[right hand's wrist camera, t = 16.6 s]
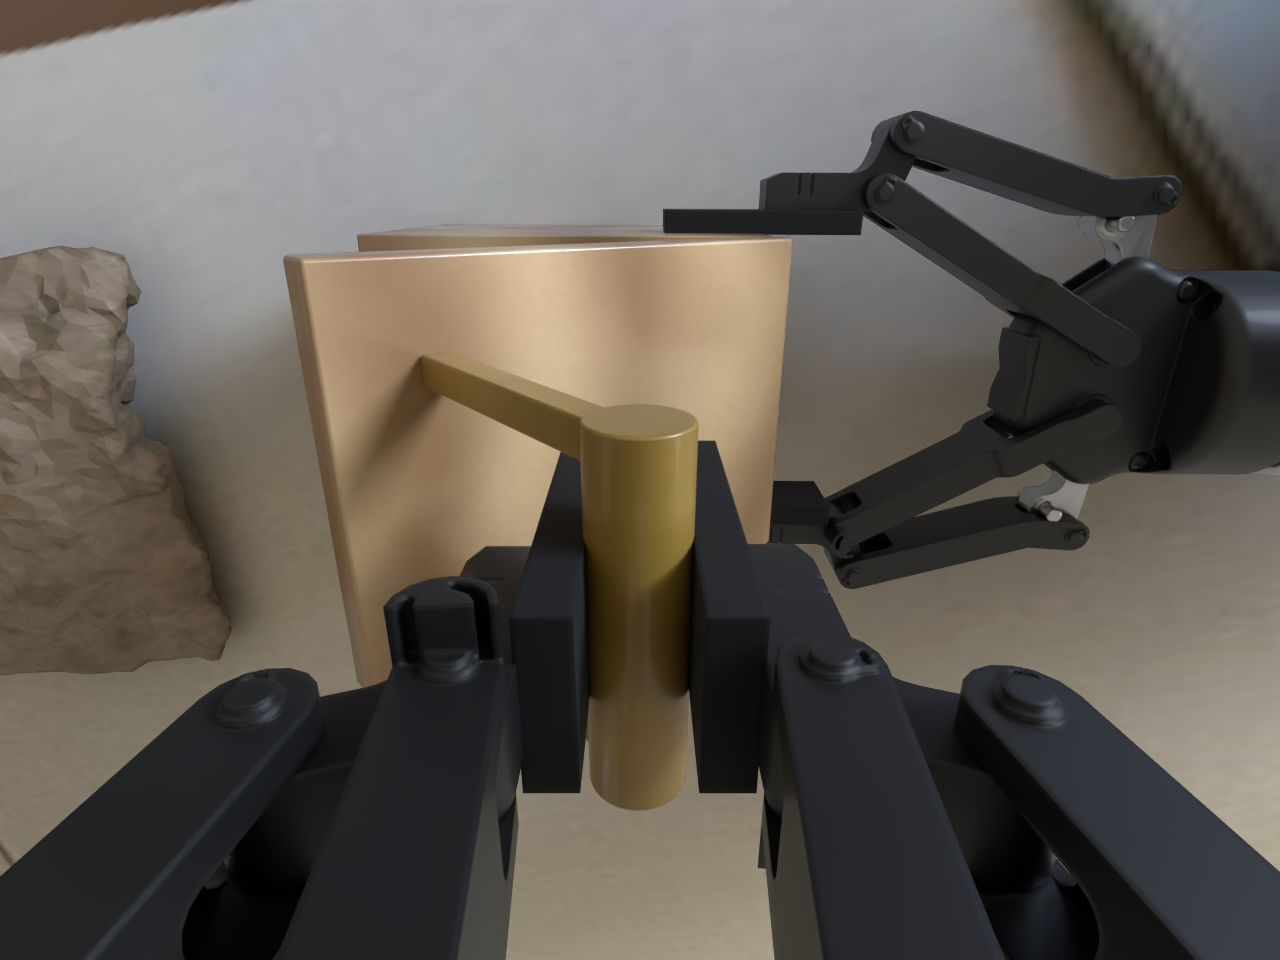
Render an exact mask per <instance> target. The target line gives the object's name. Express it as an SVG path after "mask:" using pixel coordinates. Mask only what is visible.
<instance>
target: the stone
mask: <svg viewBox="0 0 1280 960" xmlns="http://www.w3.org/2000/svg"><path fill="white" fill-rule="evenodd" d="M140 293H141V291H140V289H139V287H138V286H137V284H136V282H135V280H134V278H133V276H132V275H131V272H130V268H129V265H128V262H127V261H126V259H125V257H124V255H120V254H116V253H112V252H109V251H105V250H101V249H97V248H82V249H76V248H70V247H65V246H57V247H50V248H45V249H41V250H36V251H32V252H27V253H22V254H18V255H13V256H9V257H4V258H1V259H0V675H9V674H18V673H33V672H59V671H63V672H72V673H81V674H96V673H109V672H116V671H134V670H136V669H138V668H139V667H141V666H142V665H144V664H145V663H147V662H148V661H157V660H172V659H177V658H186V657H202V658H204V659H207V660H211V661H214V660H220V658H221V655H222V652H223V650H224V647H225V643H226V640H227V639H228V638H229V635H230V632H231V630H232V628H231V626H230V621H229V617H228V615H227V610H226V609H225V608H224V607H223V605H222V603H221V601H220V599H219V598H218V596H217V594H216V593H215V591H214V589H213V587H212V583H213V581H212V575H211V570H212V560H213V558H212V557H211V555H210V554H209V552H208V550H207V548H206V545H205V543H204V542H203V541H202V540H201V539H200V536H199V530H198V529H197V528H196V527H195V526H194V524H193V523H192V522H191V521H190V519H189V516H188V514H187V511H186V509H185V505H184V489H183V487H182V485H181V484H180V482H179V480H178V478H177V474H176V471H175V468H174V457H173V454H172V452H171V450H170V448H169V447H168V446H167V445H165V444H162V443H161V442H160V441H156V440H151V439H150V438H148V437H147V436H145V425H144V423H143V421H142V419H141V417H140V416H139V415H138V414H137V413H136V412H135V411H134V410H133V409H131V408H129V407H127V406H125V405H126V404H128V403H130V402H131V401H132V400H133V397H134V390H135V383H136V377H135V374H134V371H133V369H132V368H131V366H133V365H134V343H133V342H132V341H131V340H130V339H129V337H128V336H127V334H126V333H125V331H126V328H127V321H128V315H127V312H128V309H129V307H131V306H133V305H135V304H137V303H138V300H139V296H140Z"/></svg>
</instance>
